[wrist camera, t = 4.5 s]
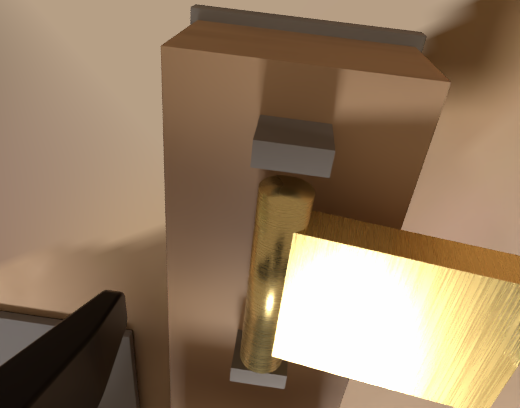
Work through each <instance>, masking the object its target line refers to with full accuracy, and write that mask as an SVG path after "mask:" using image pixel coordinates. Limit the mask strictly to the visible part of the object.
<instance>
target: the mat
mask: <svg viewBox="0 0 520 408" xmlns="http://www.w3.org/2000/svg"><path fill="white" fill-rule="evenodd" d="M61 321H63V320H58V319H52V318H45V317H38V316H32V315H25V314H18V313H11V312H5V311H0V366H1V365H2V364H4V363H5V362H6V361H8V360H9V359H10V358H12V357H13V356H15V355H16V354H17V353H19V352H20V351H21V350H23V349H24V348H25V347H27V346H28V345H30V344H31V343H32V342H34V341H35V340H36V339H38V338H39V337H41V336H42V335H43V334H45V333H46V332H47V331H49V330H50V329H52V328H53V327H54V326H56V325H57V324H58V323H60V322H61ZM98 408H140V406H139V396H138V386H137V375H136V365H135V355H134V344H133V334H132V330H126V329H125V332H124V335H123V338H122V341H121V344H120V347H119V350H118V353H117V356H116V359H115V362H114V365H113V368H112V371H111V374H110V377H109V380H108V383H107V386H106V389H105V392H104V395H103V397H102V399H101V402H100V404H99V406H98Z"/></svg>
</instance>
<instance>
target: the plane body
mask: <svg viewBox="0 0 520 408" xmlns="http://www.w3.org/2000/svg"><path fill="white" fill-rule="evenodd" d="M425 40H426V35H424V34H423V33H422V32H415V31H407V30H400V29H391V28H382V27H375V26H366V25H359V24H351V23H342V22H334V21H326V20H318V19H309V18H301V17H293V16H286V15H276V14H269V13H261V12H253V11H245V10H237V9H228V8H220V7H212V6H204V5H194V6H192V7H191V25H190V26H188V27H187V28H186V29H184V30H183V31H181V32H180V33H178V34H177V35H176V36H174V37H173V38H171V39H170V40H168V41H167V42H166V43H164V44H163V45H161V66H162V68H161V69H162V104H163V139H164V140H163V141H164V173H165V174H164V177H165V213H166V250H167V286H168V322H169V358H170V395H171V408H339V407H340V404H341V401H342V398H343V395H344V392H345V390H346V387H347V384H348V381H349V378H348V377H345V376H341V375H338V374H334V373H330V372H327V371H323V370H320V369H316V368H312V367H309V366H305V365H302V364H298V363H294V362H291V361H287V360H284V359H282V363H281V365H280V366H279V367H278V368H277V369H276V370H275V371H273V372H270V373H266V374H260V373H255V372H253V371H251V370H249V369H248V368H246V367H245V366H244V364H243V363H242V361H241V358H240V349H241V340H242V331H243V322H244V313H245V304H246V295H247V286H248V277H249V268H250V259H251V250H252V241H253V232H254V224H255V215H256V206H257V197H258V188H259V183H260V182H261V181H262V180H263V179H265V178H267V177H270V176H276V175H286V176H293V177H296V178H300V179H302V180H304V181H306V182H308V183H309V184H310V185H311V186H312V187H313V188H314V190H315V198H314V203H313V208H312V211H317V212H321V213H326V214H331V215H335V216H340V217H344V218H349V219H353V220H358V221H363V222H367V223H372V224H376V225H381V226H385V227H390V228H395V229H399V230H401V227H402V224H403V221H404V218H405V216H406V213H407V210H408V207H409V204H410V201H411V198H412V195H413V192H414V189H415V187H416V184H417V181H418V178H419V175H420V172H421V169H422V166H423V163H424V160H425V158H426V155H427V152H428V149H429V146H430V143H431V140H432V137H433V134H434V131H435V129H436V126H437V123H438V120H439V117H440V114H441V111H442V108H443V105H444V102H445V100H446V97H447V94H448V91H449V88H450V85H451V82H450V81H449V80H448V79H447V78H446V77H445V76H444V75H443V74H442V73H441V72H440V71H439V70H438V69H437V68H436V67H435V66H434V65H433V64H432V63H431V62H430V61H429V60H428V59H427V58H426V57H425V56H424V55H423V54H422V50H423V46H424V43H425Z"/></svg>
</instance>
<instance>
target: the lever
mask: <svg viewBox="0 0 520 408" xmlns="http://www.w3.org/2000/svg"><path fill="white" fill-rule="evenodd" d="M314 198H315V190H314V188H313V187H312V186H311V185H310V184H309V183H308V182H306V181H304V180H302V179H300V178H296V177H293V176H286V175H276V176H270V177H267V178H265V179H263V180H262V181H261V182H260V183H259V188H258V197H257V206H256V215H255V224H254V232H253V241H252V250H251V259H250V268H249V277H248V286H247V295H246V304H245V313H244V322H243V331H242V340H241V349H240V358H241V361H242V363H243V364H244V366H245V367H246V368H248V369H249V370H251V371H253V372H255V373H260V374H266V373H270V372H273V371H275V370H276V369H277V368H278V367H279V366H280V365H281V363H282V359H284V360H287V361H291V362H294V363H298V364H302V365H305V366H309V367H312V368H316V369H320V370H323V371H327V372H330V373H334V374H338V375H341V376H345V377H348V378H352V379H356V380H359V381H363V382H366V383H370V384H374V385H377V386H381V387H384V388H388V389H392V390H395V391H399V392H402V393H406V394H410V395H413V396H417V397H420V398H424V399H427V400H431V401H435V402H438V403H442V404H445V405H449V406H453V407H456V408H490V407H491V405H492V404H493V402H494V401H495V399H496V398H497V396H498V395H499V393H500V392H501V390H502V389H503V387H504V386H505V385H506V383H507V382H508V380H509V379H510V377H511V376H512V374H513V373H514V371H515V370H516V368H517V367H518V365H519V364H520V256H518V255H514V254H509V253H504V252H500V251H495V250H491V249H486V248H482V247H477V246H472V245H468V244H463V243H459V242H454V241H450V240H445V239H440V238H436V237H431V236H427V235H422V234H417V233H413V232H408V231H404V230H399V229H395V228H390V227H385V226H381V225H376V224H372V223H367V222H363V221H358V220H353V219H349V218H344V217H340V216H335V215H331V214H326V213H321V212H317V211H312V208H313V203H314Z"/></svg>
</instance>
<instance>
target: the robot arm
mask: <svg viewBox="0 0 520 408" xmlns="http://www.w3.org/2000/svg"><path fill="white" fill-rule="evenodd" d="M126 325H127V311H126V302H125V295H124V294H123V293H122V292H118V291H111V290H105V291H102V292H101V293H100V294H98V295H97V296H95V297H94V298H93V299H91V300H90V301H89V302H87V303H86V304H84V305H83V306H82V307H80V308H79V309H78V310H76V311H75V312H74V313H72V314H71V315H69V316H68V317H67V318H65V319H64V320H63V321H61V322H60V323H58V324H57V325H56V326H54V327H53V328H52V329H50V330H49V331H47V332H46V333H45V334H43V335H42V336H41V337H39V338H38V339H36V340H35V341H34V342H32V343H31V344H30V345H28V346H27V347H25V348H24V349H23V350H21V351H20V352H19V353H17V354H16V355H15V356H13V357H12V358H10V359H9V360H8V361H6V362H5V363H4V364H2V365H1V366H0V408H98V406H99V404H100V402H101V399H102V397H103V395H104V392H105V389H106V386H107V383H108V380H109V377H110V374H111V371H112V368H113V365H114V362H115V359H116V356H117V353H118V350H119V347H120V344H121V341H122V338H123V335H124V332H125V329H126Z"/></svg>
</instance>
